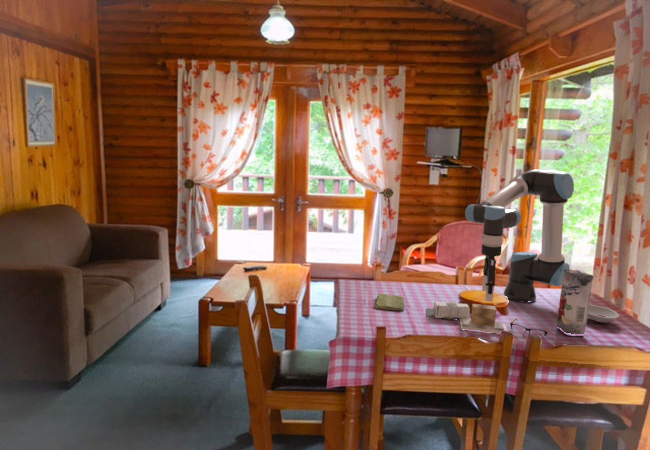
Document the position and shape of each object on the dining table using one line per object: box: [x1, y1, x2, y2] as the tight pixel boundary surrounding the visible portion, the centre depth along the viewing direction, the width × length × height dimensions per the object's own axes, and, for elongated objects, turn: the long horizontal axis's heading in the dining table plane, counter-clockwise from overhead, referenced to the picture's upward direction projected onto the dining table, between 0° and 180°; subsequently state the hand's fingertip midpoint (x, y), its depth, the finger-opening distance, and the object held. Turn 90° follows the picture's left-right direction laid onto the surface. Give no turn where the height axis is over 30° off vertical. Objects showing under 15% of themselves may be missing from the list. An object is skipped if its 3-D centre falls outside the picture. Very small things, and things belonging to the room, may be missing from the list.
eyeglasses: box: [509, 317, 553, 337], centre depth 210 cm, size 14×14×4 cm
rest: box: [459, 319, 508, 333], centre depth 210 cm, size 18×10×1 cm, turn 78°
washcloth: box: [374, 293, 405, 312], centre depth 235 cm, size 13×18×3 cm
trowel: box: [462, 303, 504, 331], centre depth 210 cm, size 16×8×8 cm, turn 78°
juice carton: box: [556, 267, 594, 335], centre depth 208 cm, size 9×10×27 cm
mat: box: [425, 308, 446, 320], centre depth 225 cm, size 16×11×1 cm
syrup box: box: [432, 301, 471, 321], centre depth 221 cm, size 6×6×14 cm
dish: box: [587, 304, 620, 323], centre depth 225 cm, size 18×14×5 cm
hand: (487, 295), depth 208 cm, fingers open, 13 cm apart
